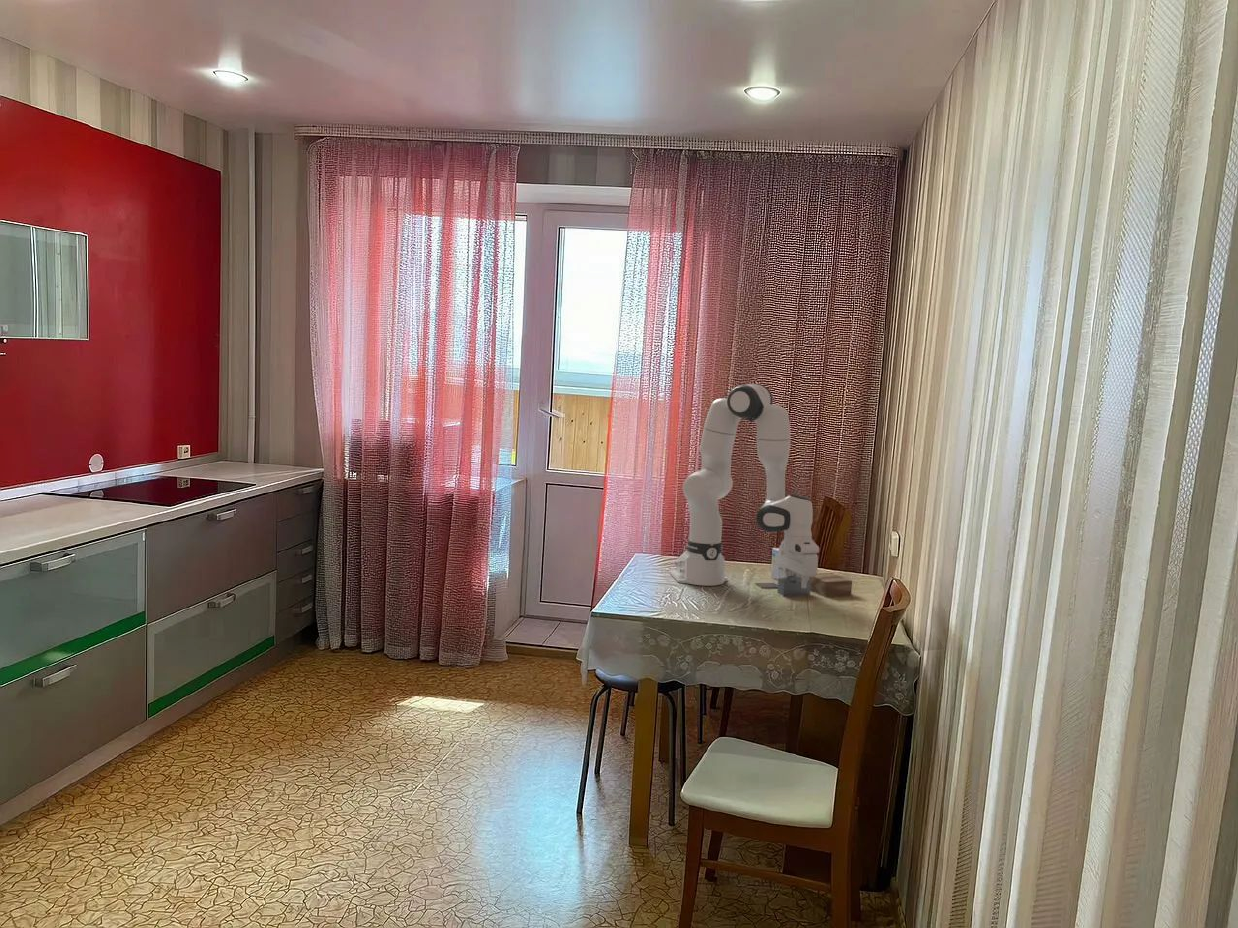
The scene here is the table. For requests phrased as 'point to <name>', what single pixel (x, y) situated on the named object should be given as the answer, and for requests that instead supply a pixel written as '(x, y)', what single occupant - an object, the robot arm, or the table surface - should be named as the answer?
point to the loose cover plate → (767, 585)
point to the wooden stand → (830, 585)
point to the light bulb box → (779, 567)
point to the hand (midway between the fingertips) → (795, 584)
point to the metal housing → (792, 586)
